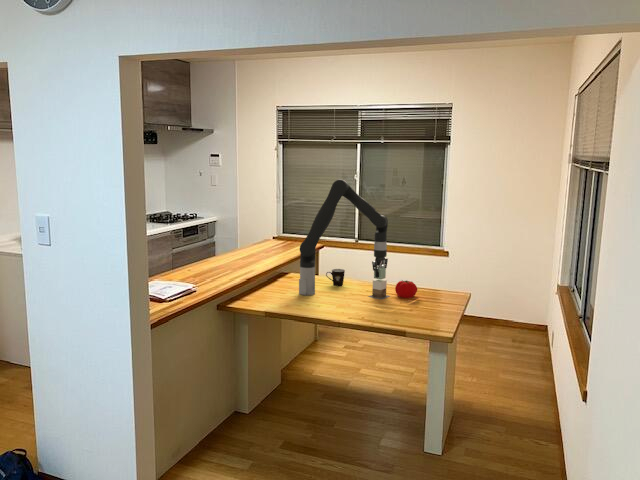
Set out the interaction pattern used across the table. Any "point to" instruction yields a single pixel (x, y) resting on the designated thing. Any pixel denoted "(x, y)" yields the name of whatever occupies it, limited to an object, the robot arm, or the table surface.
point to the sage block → (381, 273)
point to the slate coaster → (379, 298)
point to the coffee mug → (337, 276)
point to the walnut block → (378, 293)
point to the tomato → (405, 289)
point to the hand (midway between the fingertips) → (379, 276)
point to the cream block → (379, 284)
